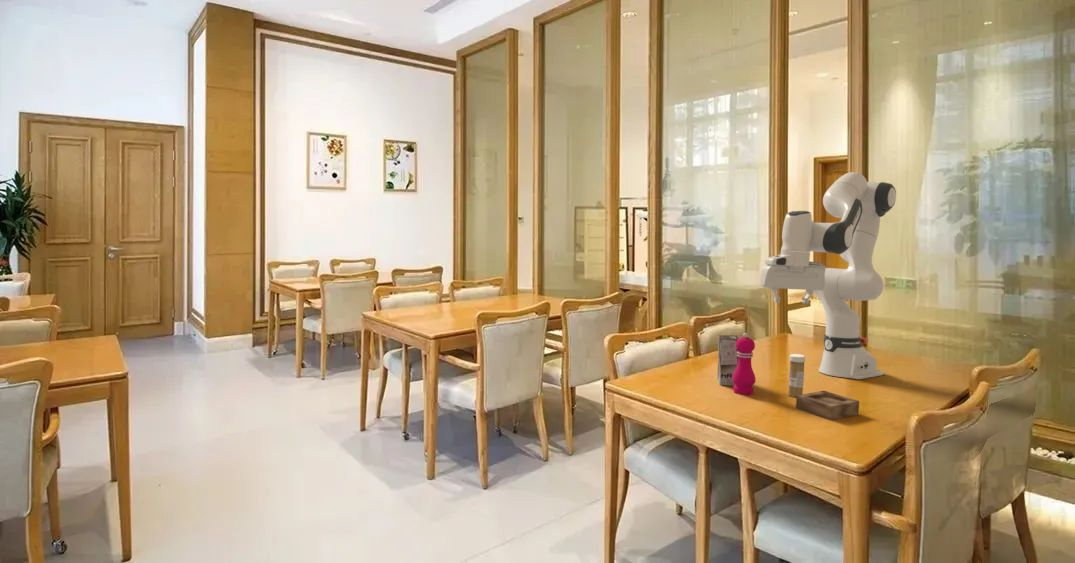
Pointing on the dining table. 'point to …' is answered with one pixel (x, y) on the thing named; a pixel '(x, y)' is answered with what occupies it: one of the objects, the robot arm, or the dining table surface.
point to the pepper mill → (744, 366)
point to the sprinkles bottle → (796, 375)
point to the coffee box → (727, 359)
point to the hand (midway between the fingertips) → (790, 302)
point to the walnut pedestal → (827, 405)
